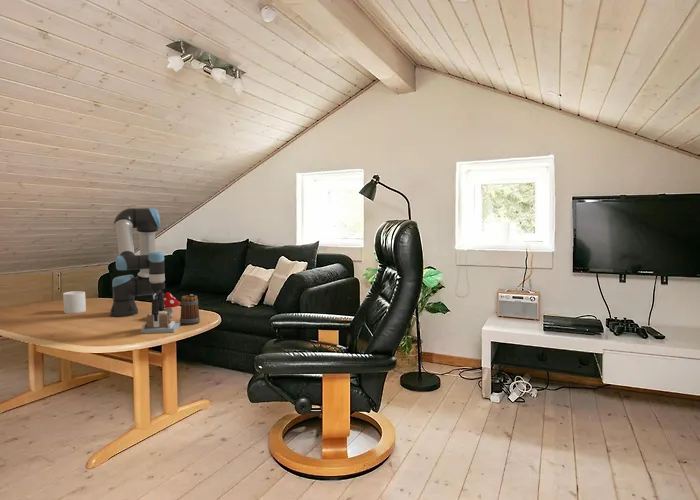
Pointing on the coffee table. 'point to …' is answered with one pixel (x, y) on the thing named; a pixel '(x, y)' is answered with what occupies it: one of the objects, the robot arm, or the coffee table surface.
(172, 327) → the grey serving tray
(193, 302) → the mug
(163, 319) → the brown box
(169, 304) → the decorative mushroom
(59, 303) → the coffee table surface
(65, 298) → the cup
